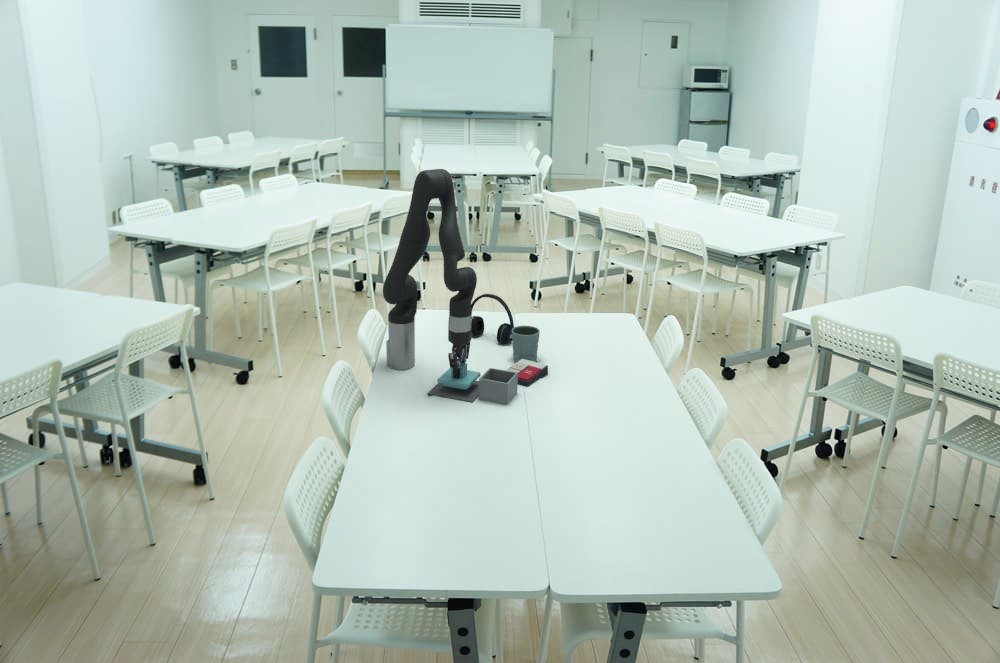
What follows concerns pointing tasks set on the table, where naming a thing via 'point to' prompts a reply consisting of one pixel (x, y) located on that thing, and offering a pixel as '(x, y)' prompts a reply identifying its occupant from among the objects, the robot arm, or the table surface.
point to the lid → (463, 382)
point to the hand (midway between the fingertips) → (459, 375)
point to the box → (498, 386)
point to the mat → (456, 392)
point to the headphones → (504, 330)
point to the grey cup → (525, 343)
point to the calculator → (528, 371)
